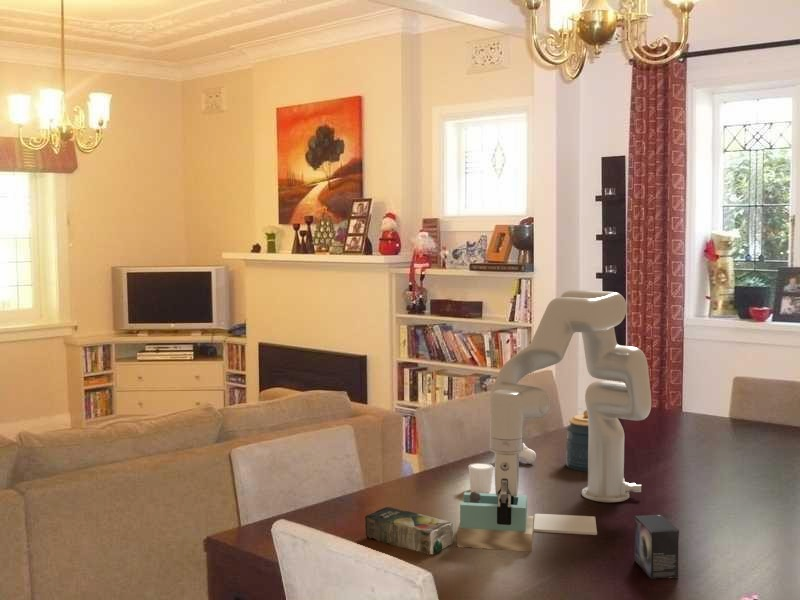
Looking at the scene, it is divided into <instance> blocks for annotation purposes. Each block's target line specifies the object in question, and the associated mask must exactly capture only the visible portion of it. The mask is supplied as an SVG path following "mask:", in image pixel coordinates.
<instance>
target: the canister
mask: <svg viewBox="0 0 800 600" xmlns="http://www.w3.org/2000/svg"><path fill="white" fill-rule="evenodd" d="M568 423H569V425H567V426H566V431H567V436H566V437H565V440H566V446H565V447H566V449H565V450H566V451H565V452H566V454H565V455H566V457H565V462H566V466H567V468H569V469H571V470H575V471H578V470H579V471H580V472H588V433H589V430H588V414H587V409H584V411H583V413H582V414H576V415H574V416H573V417H571V418H569V419H568ZM579 471H578V472H579Z"/></svg>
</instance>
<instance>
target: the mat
mask: <svg viewBox="0 0 800 600" xmlns="http://www.w3.org/2000/svg"><path fill="white" fill-rule="evenodd" d="M596 522H597V521H596V516H590V515H589V516H588V515H573V514H572V515H571V514H551V513H549V514H548V513H534V525H533V533H551V534H552V533H553V534H568V535H569V534H573V535H593V536H597V535H598V531H597V530H598V529H597V523H596Z"/></svg>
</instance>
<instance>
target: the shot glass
mask: <svg viewBox="0 0 800 600" xmlns="http://www.w3.org/2000/svg"><path fill="white" fill-rule="evenodd" d="M493 472H494V465H492V464H490V463H487V462H486V463H484V462H475V463H470V464H468V474H469V485H470V487H469V488H470V492H471V493H472V492H474V491H476V492H478V493H490V492H491V491H492V482H493V481H492V480H493Z"/></svg>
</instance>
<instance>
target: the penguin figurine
mask: <svg viewBox="0 0 800 600" xmlns="http://www.w3.org/2000/svg"><path fill="white" fill-rule="evenodd" d="M518 457H519V459H523V460H524V461H523V462H525V465H526V464H530V465H532V464H533V463H534V462H535V460H536V458H537V454H536V452H535V451H534V450H533V449H531V448H528V446H526V444H525V443H524V442H523V452H521V453H518Z"/></svg>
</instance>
